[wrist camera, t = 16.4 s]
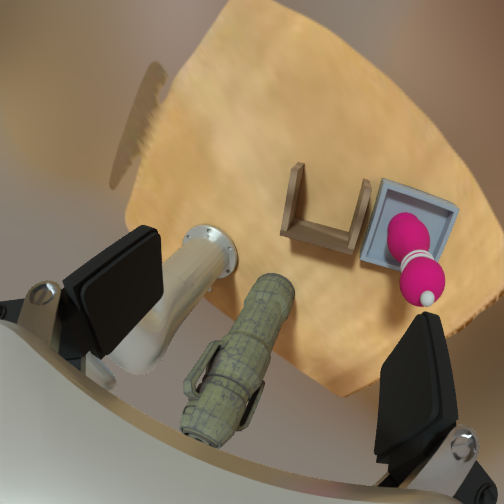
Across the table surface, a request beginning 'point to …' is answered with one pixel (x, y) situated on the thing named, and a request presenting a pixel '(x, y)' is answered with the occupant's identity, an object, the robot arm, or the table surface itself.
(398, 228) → the pepper mill
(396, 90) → the table surface
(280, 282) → the olive piece
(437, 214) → the slate tray
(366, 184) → the walnut bay
